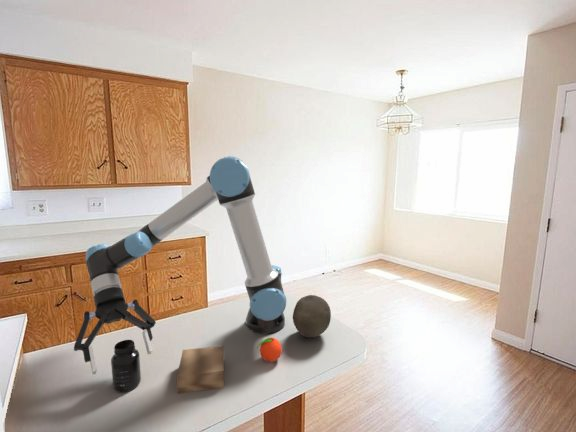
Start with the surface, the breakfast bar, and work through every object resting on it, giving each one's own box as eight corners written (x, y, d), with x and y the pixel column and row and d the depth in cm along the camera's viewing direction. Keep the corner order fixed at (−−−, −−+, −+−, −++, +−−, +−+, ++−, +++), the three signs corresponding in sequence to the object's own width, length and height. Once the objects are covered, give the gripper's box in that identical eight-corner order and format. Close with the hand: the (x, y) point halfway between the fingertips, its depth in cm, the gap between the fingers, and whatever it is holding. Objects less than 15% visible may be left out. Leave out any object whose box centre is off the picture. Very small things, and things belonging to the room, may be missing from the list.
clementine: (259, 369, 91) (260, 347, 90) (253, 356, 97) (253, 335, 96) (284, 363, 94) (285, 342, 93) (277, 351, 100) (277, 331, 99)
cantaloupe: (284, 331, 113) (285, 293, 110) (316, 323, 119) (318, 287, 117) (304, 351, 100) (305, 308, 98) (338, 341, 107) (340, 301, 104)
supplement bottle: (120, 376, 86) (117, 337, 85) (144, 375, 87) (142, 336, 85) (108, 394, 80) (104, 351, 78) (134, 393, 80) (132, 351, 78)
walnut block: (223, 360, 94) (223, 345, 94) (223, 387, 83) (223, 370, 82) (183, 365, 92) (182, 349, 91) (177, 393, 80) (177, 376, 80)
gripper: (148, 288, 101) (167, 349, 92) (55, 309, 85) (66, 386, 76) (153, 277, 97) (173, 341, 88) (55, 297, 80) (67, 378, 71)
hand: (123, 362), depth 82 cm, fingers open, 13 cm apart
